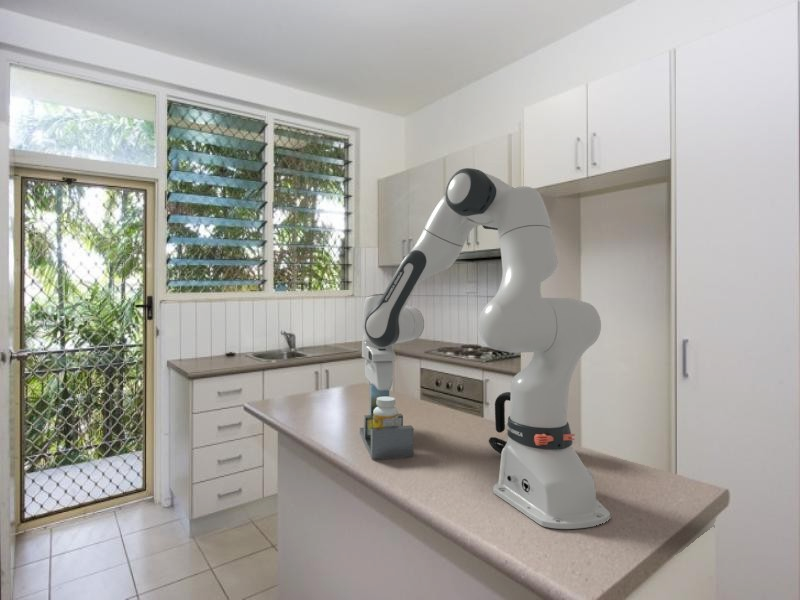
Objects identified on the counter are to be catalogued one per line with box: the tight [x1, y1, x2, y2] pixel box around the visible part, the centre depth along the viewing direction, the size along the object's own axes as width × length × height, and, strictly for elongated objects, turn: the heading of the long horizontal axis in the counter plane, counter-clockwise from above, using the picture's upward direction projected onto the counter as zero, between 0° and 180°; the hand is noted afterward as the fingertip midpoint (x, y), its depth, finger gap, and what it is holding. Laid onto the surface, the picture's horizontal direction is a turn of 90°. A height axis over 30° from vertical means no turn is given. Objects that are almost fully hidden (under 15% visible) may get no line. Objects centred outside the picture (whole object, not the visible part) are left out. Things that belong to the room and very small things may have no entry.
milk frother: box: [488, 391, 511, 455], centre depth 113 cm, size 14×16×15 cm
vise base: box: [359, 424, 414, 461], centre depth 116 cm, size 20×10×7 cm, turn 14°
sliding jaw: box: [363, 383, 404, 439], centre depth 121 cm, size 9×10×12 cm
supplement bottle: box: [373, 396, 399, 428], centre depth 113 cm, size 6×6×11 cm
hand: (376, 399), depth 127 cm, fingers closed
